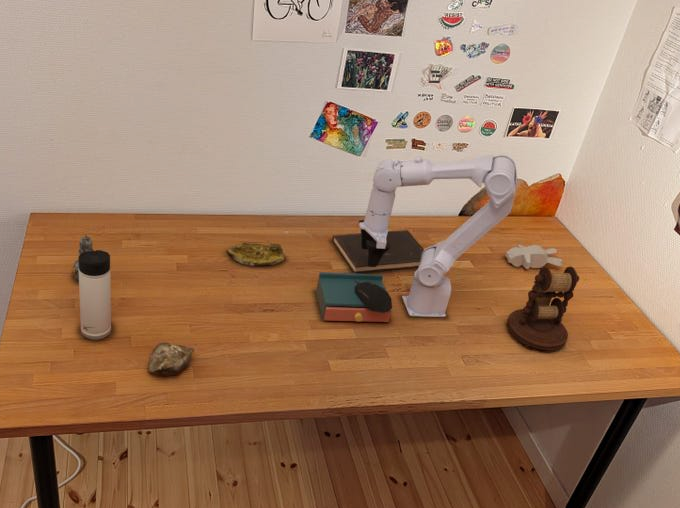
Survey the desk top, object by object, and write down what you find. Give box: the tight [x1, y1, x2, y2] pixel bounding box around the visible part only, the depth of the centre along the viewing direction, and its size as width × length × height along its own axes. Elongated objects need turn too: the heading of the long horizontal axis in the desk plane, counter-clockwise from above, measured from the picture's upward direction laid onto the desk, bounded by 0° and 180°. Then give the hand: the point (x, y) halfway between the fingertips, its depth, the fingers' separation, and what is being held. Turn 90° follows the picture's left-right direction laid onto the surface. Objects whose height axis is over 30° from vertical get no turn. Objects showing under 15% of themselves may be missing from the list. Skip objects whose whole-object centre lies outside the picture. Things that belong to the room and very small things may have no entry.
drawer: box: [323, 306, 392, 323], centre depth 180 cm, size 16×12×3 cm
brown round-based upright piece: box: [506, 265, 580, 351], centre depth 179 cm, size 15×15×20 cm
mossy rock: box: [226, 242, 285, 267], centre depth 194 cm, size 9×5×15 cm
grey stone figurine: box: [72, 234, 95, 283], centre depth 173 cm, size 6×6×12 cm
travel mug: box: [77, 249, 112, 341], centre depth 156 cm, size 6×7×20 cm
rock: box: [147, 342, 195, 376], centre depth 154 cm, size 8×7×10 cm
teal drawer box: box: [315, 271, 387, 321], centre depth 181 cm, size 16×11×6 cm
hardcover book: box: [331, 229, 425, 274], centre depth 204 cm, size 16×23×2 cm
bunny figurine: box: [505, 244, 564, 270], centre depth 211 cm, size 10×5×15 cm
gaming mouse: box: [354, 278, 393, 313], centre depth 177 cm, size 6×15×4 cm, turn 28°
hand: (368, 257), depth 183 cm, fingers open, 7 cm apart
